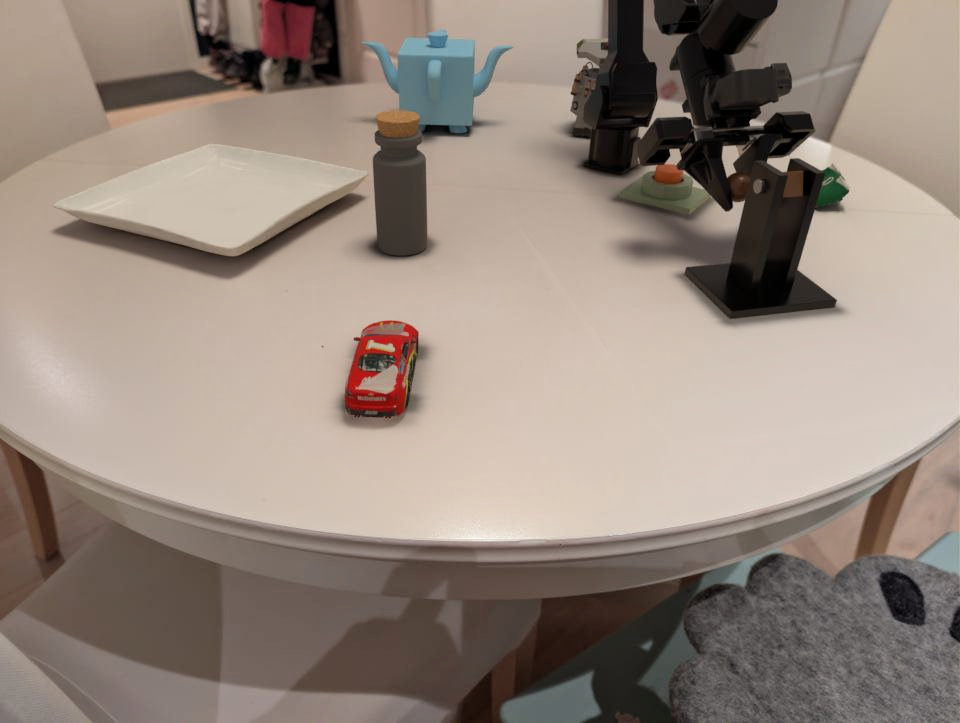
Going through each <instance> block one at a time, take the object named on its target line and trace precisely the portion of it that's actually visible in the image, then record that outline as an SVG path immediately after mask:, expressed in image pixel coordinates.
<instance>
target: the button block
mask: <svg viewBox="0 0 960 723" xmlns="http://www.w3.org/2000/svg"><path fill="white" fill-rule="evenodd" d="M654 177H655V170H649V171H647V172H645V173H644V174H642V176H641V177H639V178H638V179H636V180H634V182H632V183H630V184H629V185H627V186H626V187H624V188H623V189H621V190H620V191H619V194H618V198H619V199H623V200H627V201H631V202H635V203H639V204H643V205H648V206H650V207H656V208H660V209H664V210H666V211H667V210H668V211H671V212H675V213H680V214H683V215H687V216H690V215H691V214H692V213H693V212H695V211H696V210H697V209H698V208H699V207H701V206H702V205H704V203H705V202H707V200H709V199H710V198H711V195H710V194H709V193H708V192H707V191H706V190H705V189H704V188H699V187H694V179H693V178H692V177H691V176H690V175H688V174H685V173H683V175H682V181H681V183H678V184H665V183H660V182H657V181H655V180H654Z"/></svg>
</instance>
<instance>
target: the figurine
mask: <svg viewBox="0 0 960 723" xmlns="http://www.w3.org/2000/svg"><path fill="white" fill-rule="evenodd" d="M607 55H608V37H605V38H582V39H581V40H580V41H578V42H577V43H576V56H577V59H587V60H588V62H586V63H585V65H582V67H581V68H582V69H581V70H580V71H579V72H578V73H576V74H575V76H574V80H573V84H572V86H571V91H570V95H571V96H572V100H571V101H572V102H571V106H570V110H569V111H570V112H571V113H572V114H574V115H575V116H576V117H575V120H574V121H575V122H574V126H573V129H572V133H571V134H573V135H574V136H575V137H578V136H580V138H583V137H584V136H587V138H589V139H590V138H591V129H592V128H591V127H590V126H589V125H588V124H586V123H585V122H584V105H585V104H586V102H587V100H588V99H589V97H590V95H591V94H592V92H593V91H594V89H595V87H596V76H597V73H598V71H599V69H600V68H601V66H602V64H603V62H604V60H605V58H606V57H607ZM589 64H590V65H591V68H589ZM594 64H595V65H596V66H597V67H594Z"/></svg>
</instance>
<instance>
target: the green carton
mask: <svg viewBox="0 0 960 723" xmlns="http://www.w3.org/2000/svg"><path fill="white" fill-rule="evenodd" d="M830 164H831V165H829V166H827V167H826V168H824V169H822V170H821V171H823V172H825V176H824V180H823V183H822V187H821V190H820V193H819V197H818V200H817V204H816V207H815V209H816V208H821V207H824V206H830V205H831V204H835V203H836V202H837V203H838V202H841V201H842V200H844V199H843V198H844V197H846V196H847V195H848V194H849V193H850V186H849V183H848V182H847V180H846V179H845V177H844V176H843V175H842V172H841V170H840V169H839V168H838V167H837V166H836V164H834V163H833V162H832V163H830Z"/></svg>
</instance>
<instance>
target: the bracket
mask: <svg viewBox="0 0 960 723" xmlns="http://www.w3.org/2000/svg"><path fill="white" fill-rule="evenodd" d="M791 171H803V196H798V197H785V198H782V197H783V193H784V189H785V185H786V182H787V178H788V175H786V174H785V173H783V172H784V171H781V170H780V169H778V168H777V167H775V166H773V165H771V164H770V163H769V162H767V163H766V162H765V161H763V160H762V161H754V164H753V168H752V172H751V177H750V181H749V185H748V190H747V194H746V198H745V201H743V206H742V211H741V216H740V220H739V224H738V229H737V232H736V237H735V242H734V247H733V250H732V254H731V259H730V262H727V263H725V262H724V263H715V264H714V263H713V264H704V265H693V266H686V267H685V270H684V276H686V277H687V278H688V279H689V281H691V283H692V284H694V285H695V287H697V288H698V289H699V290H700V291H701V292H702V293H703V294H704V295H705V296H706V297H707V298H708V299H709V300H710V301H711V302H712V303H713V304H714V305H715V306H716V307H718V308H719V310H721V311H722V313H724V314H725V315H726V316H727V317H728V319H730V320H732V319H741V318H750V317H759V316H766V315H768V316H769V315H776V314H777V315H778V314H786V313H795V312H796V313H797V312H803V311H813V310H822V309H831V308H835V307H836V304H837V303H838V302H837V301H838V300H837V299H836V298H835V297H834V296H833V295H832V294H830V293H829V292H828V291H827V290H825V289H824V288H822V287H821V286H819V285H818V284H817V283H815V281H813V280H811V278H809V277H807V276H806V274H803V273H802V272H801V271H800V270H799V266H800V262H801V259H802V255H803V252H804V248H805V245H806V241H807V238H808V234H809V231H810V228H811V224H812V220H813V217H814V213H815V210H816V208H815V207H816V204H817V200H818V197H819V193H820V190H821V187H822V183H823V180H824V176H825V172H823V171H822V170H821V169H819V168H818V167H815V166H814V165H812V164H810V163H808V162H806V161H805V160H803V159H801V158H799V157H795V158H794V157H793V158H789V161H788V165H787V169H786V172H791Z"/></svg>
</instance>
